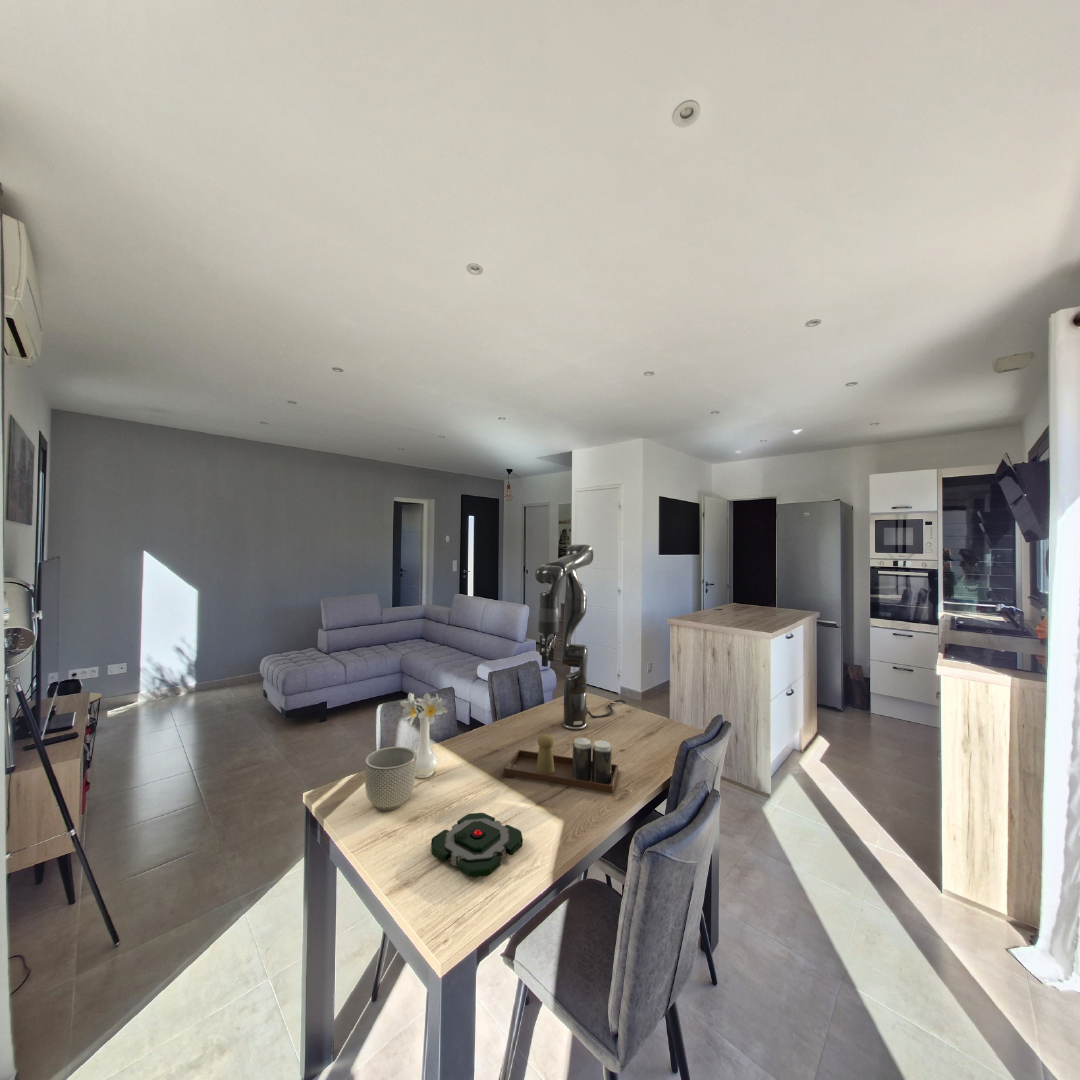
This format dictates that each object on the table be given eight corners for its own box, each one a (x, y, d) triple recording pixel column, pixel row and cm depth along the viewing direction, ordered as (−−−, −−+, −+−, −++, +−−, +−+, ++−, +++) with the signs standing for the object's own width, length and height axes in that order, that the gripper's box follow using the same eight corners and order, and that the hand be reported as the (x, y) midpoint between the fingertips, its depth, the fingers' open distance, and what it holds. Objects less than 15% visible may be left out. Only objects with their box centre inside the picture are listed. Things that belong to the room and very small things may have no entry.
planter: (425, 804, 126) (426, 757, 126) (377, 825, 116) (378, 774, 116) (400, 785, 136) (401, 742, 136) (354, 803, 126) (356, 756, 126)
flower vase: (417, 757, 154) (419, 684, 154) (456, 773, 144) (458, 694, 144) (385, 772, 143) (387, 693, 144) (425, 791, 133) (427, 705, 133)
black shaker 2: (593, 773, 145) (594, 738, 145) (612, 776, 143) (613, 741, 143) (590, 782, 139) (591, 746, 139) (609, 785, 137) (610, 749, 138)
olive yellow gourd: (555, 766, 149) (555, 732, 149) (553, 775, 143) (554, 740, 143) (536, 764, 150) (537, 731, 150) (534, 773, 144) (535, 738, 144)
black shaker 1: (574, 770, 147) (575, 736, 147) (592, 773, 145) (593, 738, 145) (570, 779, 141) (571, 743, 141) (589, 782, 139) (590, 746, 139)
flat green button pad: (475, 818, 120) (475, 800, 120) (529, 844, 110) (530, 825, 110) (422, 854, 105) (422, 834, 105) (479, 889, 95) (480, 867, 95)
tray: (518, 756, 156) (518, 749, 156) (617, 772, 147) (618, 764, 147) (503, 776, 143) (503, 768, 143) (612, 794, 133) (612, 786, 133)
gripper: (553, 623, 159) (552, 669, 159) (563, 617, 173) (562, 660, 172) (533, 621, 161) (532, 667, 161) (544, 616, 175) (543, 658, 175)
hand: (547, 663), depth 167 cm, fingers open, 8 cm apart
